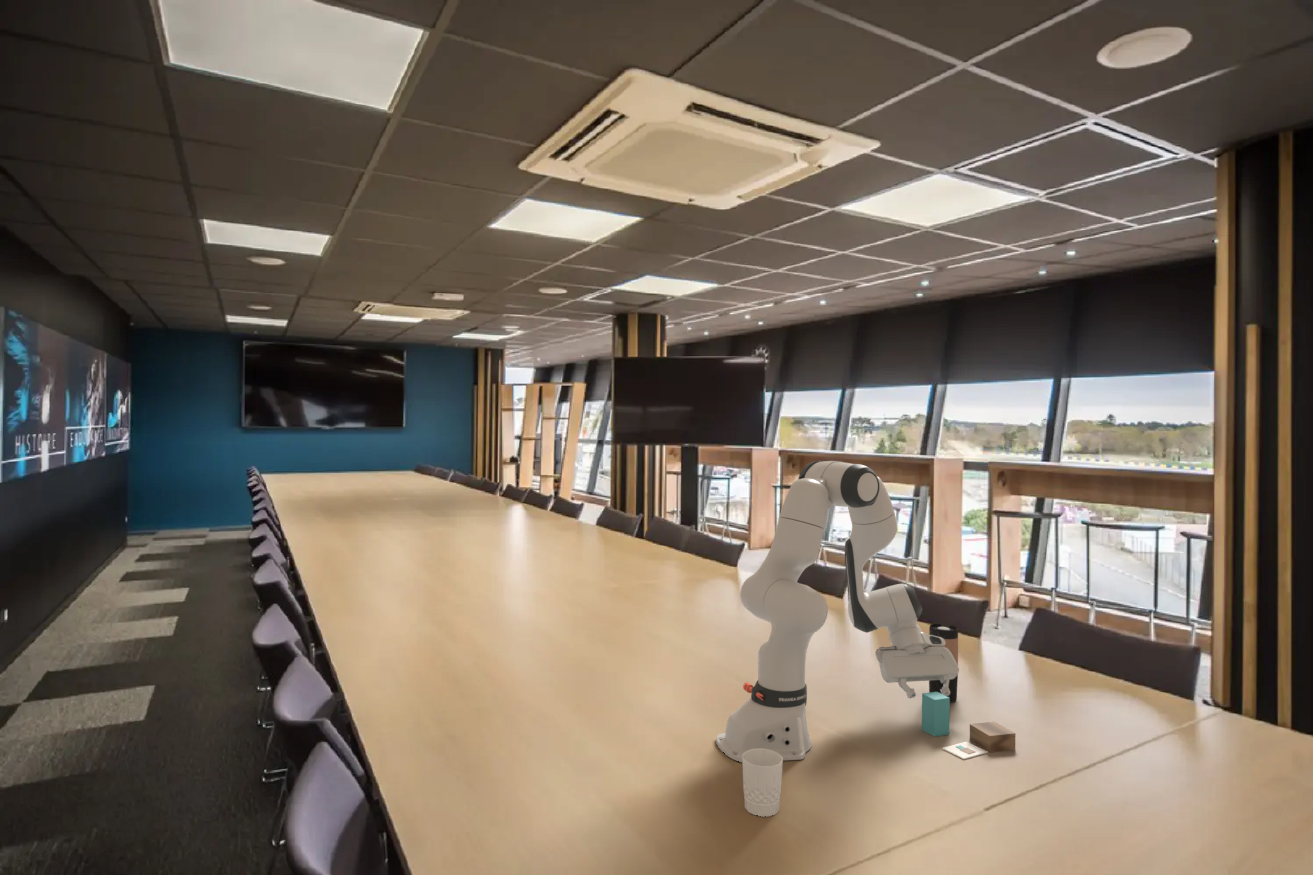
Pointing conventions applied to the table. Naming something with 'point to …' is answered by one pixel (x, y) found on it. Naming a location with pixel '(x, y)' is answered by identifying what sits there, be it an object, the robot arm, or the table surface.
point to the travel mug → (951, 643)
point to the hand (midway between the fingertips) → (929, 695)
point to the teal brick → (935, 713)
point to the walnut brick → (992, 736)
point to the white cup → (762, 781)
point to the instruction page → (965, 750)
